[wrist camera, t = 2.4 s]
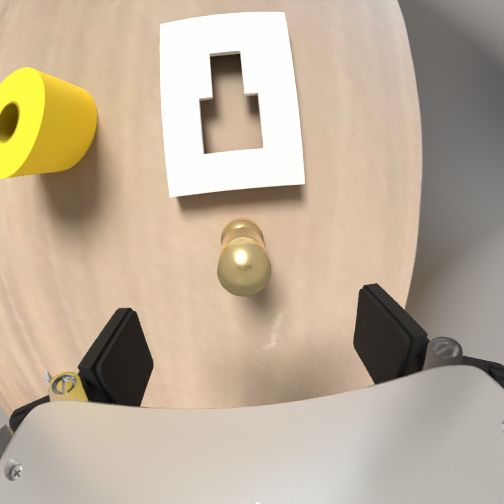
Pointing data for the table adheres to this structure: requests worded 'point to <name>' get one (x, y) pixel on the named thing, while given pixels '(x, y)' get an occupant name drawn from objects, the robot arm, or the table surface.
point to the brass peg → (243, 259)
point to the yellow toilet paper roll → (43, 124)
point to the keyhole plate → (254, 83)
